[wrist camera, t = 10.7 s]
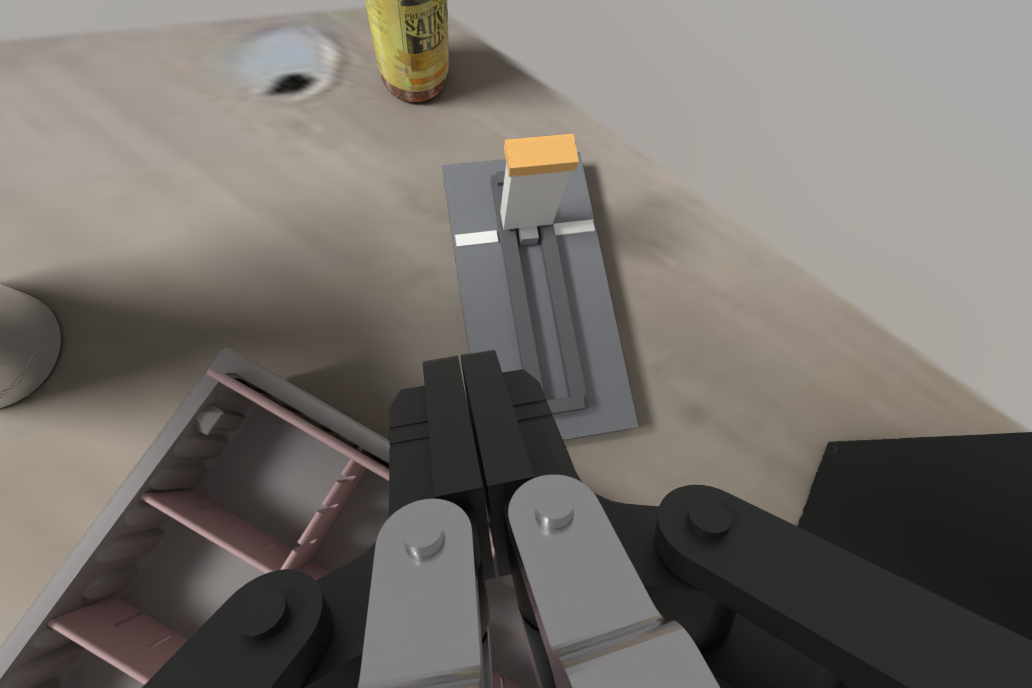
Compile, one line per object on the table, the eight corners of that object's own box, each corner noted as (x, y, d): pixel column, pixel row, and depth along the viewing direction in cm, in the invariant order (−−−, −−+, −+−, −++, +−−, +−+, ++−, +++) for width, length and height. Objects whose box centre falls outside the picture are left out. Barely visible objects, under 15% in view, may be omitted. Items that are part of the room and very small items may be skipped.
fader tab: (554, 241, 41) (581, 173, 32) (502, 248, 41) (512, 179, 31) (547, 202, 42) (570, 122, 32) (495, 207, 42) (503, 128, 32)
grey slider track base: (630, 428, 41) (645, 425, 37) (483, 453, 39) (485, 452, 36) (575, 165, 46) (583, 141, 42) (443, 178, 44) (441, 154, 41)
